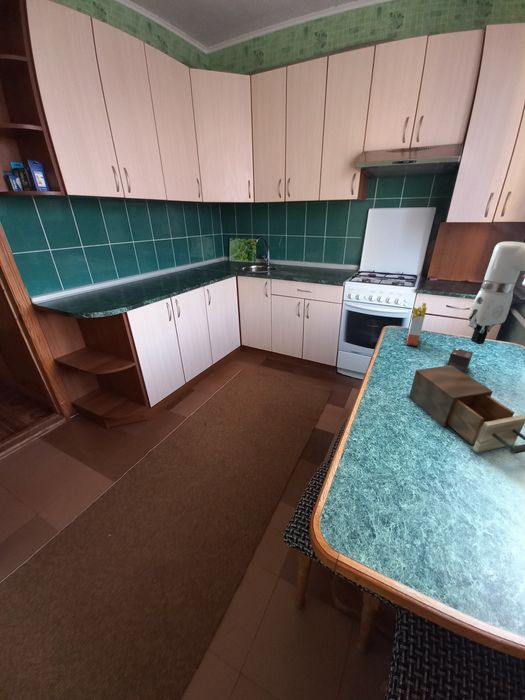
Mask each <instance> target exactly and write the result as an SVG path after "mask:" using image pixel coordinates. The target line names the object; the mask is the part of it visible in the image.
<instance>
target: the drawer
mask: <svg viewBox="0 0 525 700" xmlns="http://www.w3.org/2000/svg"><path fill="white" fill-rule="evenodd" d="M514 415H515V412H514V411H513V410H511V409H510V408H508V407H507V406H506V405H504V404H503V403H501V402H499V401H497V400H496V399H494V398H493V397H492V396H491V397H490V396H488V395H487V394H485V395H480V396H474V397H468V398H462V399H457V400H455V402H454V405H453V407H452V410H451V413H450V416H449V419H448V422H447V424H448V425H449V426H448V427H450V428H452V429H453V430H454V431H455V432H456V433H457V434H459V436H461V437H462V438H463V439H464V440H465V441H466V442H468V443H469V444H471V445H472V444H473V447H472V450H473V451H474V452H475V453H481V452H485V451H491V450H495V449H496V450H497V449H501V448H505V447H506V448H507V449H508V451H509V453H510V454H511V455H517V454H522V453H525V443H524V444H520V445H519V444H518V445H515V443H516V441H517V439H518V438H520V439H522V440H524V441H525V435H524V434H523V433H521V432H522V429H523V428H524V426H525V415H524V414H519V415H515V416H514Z"/></svg>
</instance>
